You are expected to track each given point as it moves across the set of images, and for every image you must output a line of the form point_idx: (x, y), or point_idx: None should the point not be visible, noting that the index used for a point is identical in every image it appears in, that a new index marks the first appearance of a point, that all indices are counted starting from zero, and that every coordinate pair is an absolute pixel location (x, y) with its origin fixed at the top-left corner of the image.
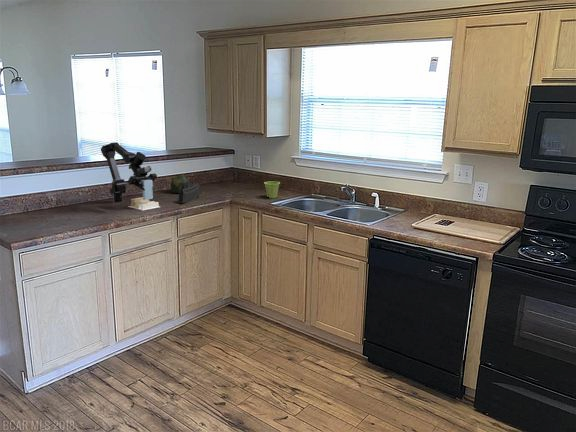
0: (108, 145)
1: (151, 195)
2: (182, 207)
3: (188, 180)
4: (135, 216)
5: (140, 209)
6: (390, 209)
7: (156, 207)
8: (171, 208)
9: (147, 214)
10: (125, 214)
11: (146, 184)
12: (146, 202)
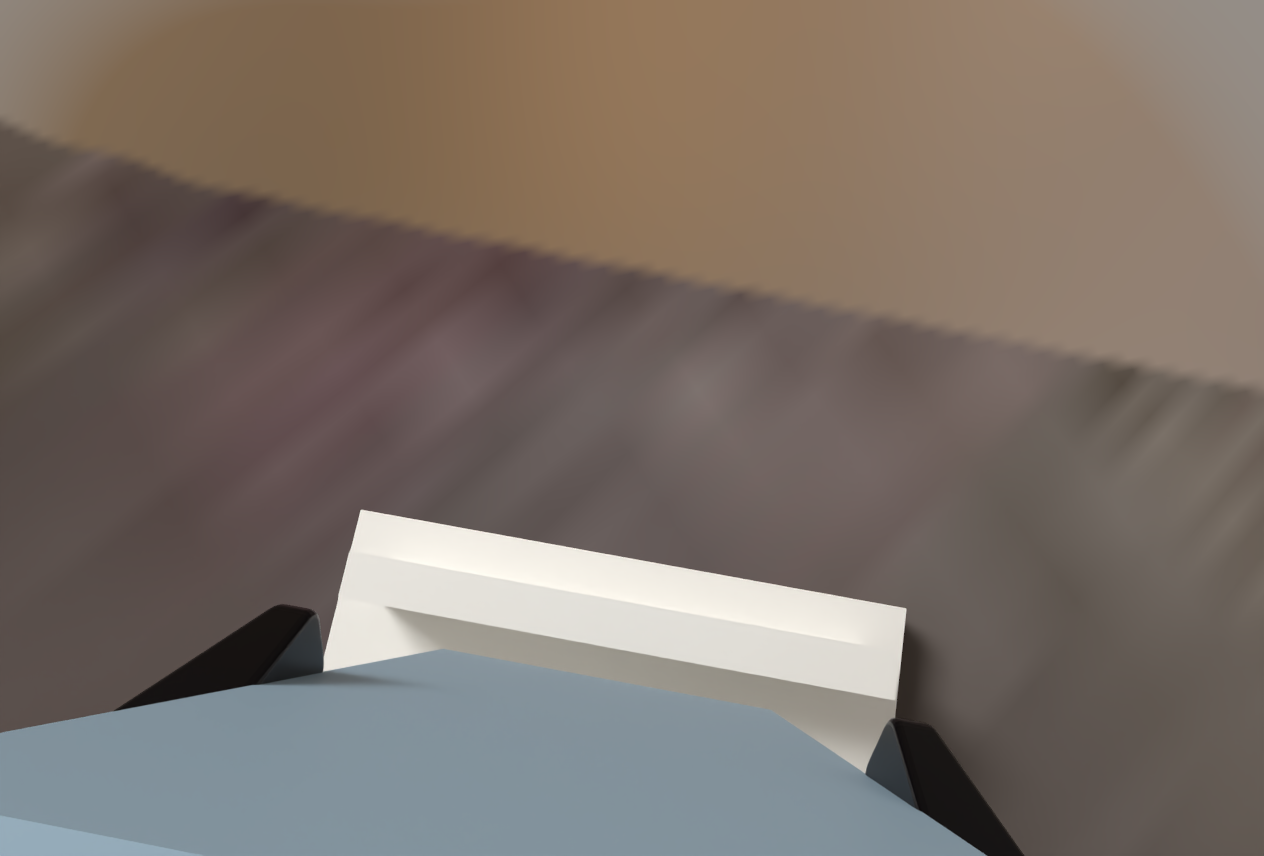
0: None
1: (477, 664)
2: (20, 235)
3: None
4: (1208, 489)
5: (870, 719)
6: None
7: (481, 544)
8: (214, 364)
9: (929, 407)
10: (1244, 822)
11: (770, 827)
12: None
